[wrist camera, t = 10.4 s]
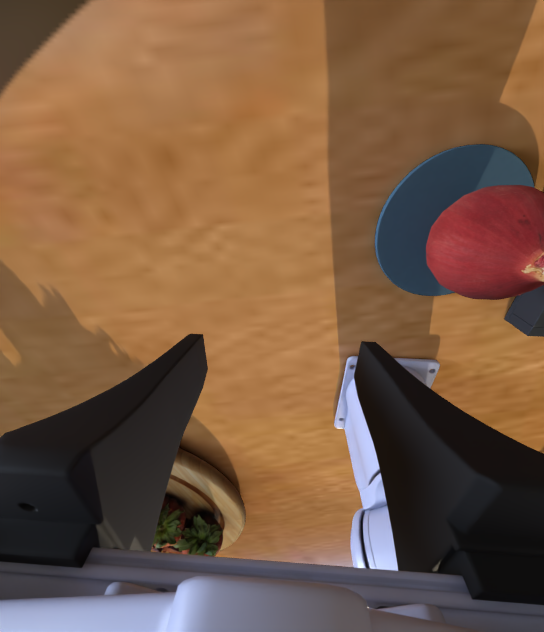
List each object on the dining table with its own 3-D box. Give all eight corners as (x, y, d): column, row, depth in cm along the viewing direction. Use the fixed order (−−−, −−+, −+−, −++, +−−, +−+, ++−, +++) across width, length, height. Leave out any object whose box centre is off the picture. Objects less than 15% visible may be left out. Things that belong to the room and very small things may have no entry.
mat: (489, 295, 20) (494, 298, 20) (362, 291, 20) (364, 293, 20) (561, 145, 15) (569, 145, 15) (393, 143, 15) (396, 142, 15)
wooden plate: (150, 555, 50) (127, 620, 43) (-18, 474, 38) (-89, 547, 31) (289, 517, 39) (290, 595, 32) (117, 387, 27) (56, 466, 20)
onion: (518, 181, 16) (699, 194, 9) (479, 272, 19) (592, 336, 12) (419, 180, 16) (519, 192, 9) (396, 270, 19) (458, 331, 12)
